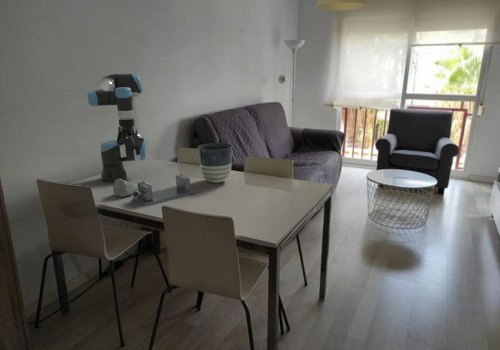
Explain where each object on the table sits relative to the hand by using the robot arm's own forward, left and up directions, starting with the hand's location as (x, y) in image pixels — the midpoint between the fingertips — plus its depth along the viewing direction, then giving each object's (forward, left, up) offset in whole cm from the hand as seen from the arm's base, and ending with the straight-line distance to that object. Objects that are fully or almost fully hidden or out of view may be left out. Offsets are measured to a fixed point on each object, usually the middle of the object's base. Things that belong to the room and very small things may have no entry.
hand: (130, 158), depth 195 cm
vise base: (+15, +10, -19) cm, 26 cm away
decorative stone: (-2, -3, -20) cm, 20 cm away
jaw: (+15, -3, -18) cm, 23 cm away
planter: (+12, +46, -20) cm, 51 cm away
